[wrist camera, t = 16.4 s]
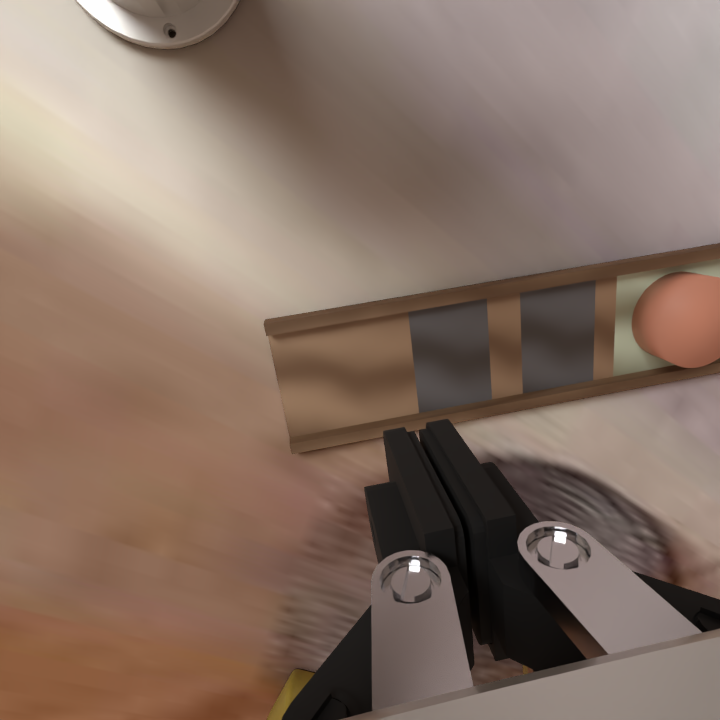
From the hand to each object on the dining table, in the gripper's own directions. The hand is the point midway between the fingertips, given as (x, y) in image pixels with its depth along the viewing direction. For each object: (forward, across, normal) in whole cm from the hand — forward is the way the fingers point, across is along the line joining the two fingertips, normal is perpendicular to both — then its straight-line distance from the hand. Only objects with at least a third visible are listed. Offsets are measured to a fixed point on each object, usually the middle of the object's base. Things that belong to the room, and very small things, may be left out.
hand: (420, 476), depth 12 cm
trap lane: (+29, -16, +8) cm, 34 cm away
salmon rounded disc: (+29, -31, +8) cm, 43 cm away
